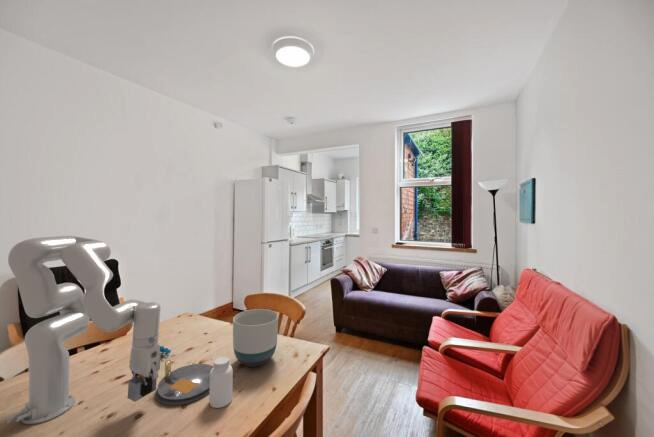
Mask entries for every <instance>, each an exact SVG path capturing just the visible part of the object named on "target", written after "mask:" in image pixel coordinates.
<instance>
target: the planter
mask: <svg viewBox="0 0 654 437" xmlns="http://www.w3.org/2000/svg"><path fill="white" fill-rule="evenodd" d="M232 318H233V319H232V344H233V345H232V346H233V353H234V357H235V358H236V360H237V361H238V362H240V364H242V365H244V366H246V367H250V368H251V367H259V366H263V365H264V364H265V363H267V362H269V361H270V359H271V358H273V356H274V355H275V353H276V349H277V346H278V333H279V314H278V312H276V311H274V310H271V309H265V308H255V309H249V310H244V311H241V312H239V313H237V314H236V315H234V316H233V317H232Z"/></svg>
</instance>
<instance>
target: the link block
mask: <svg viewBox="0 0 654 437" xmlns="http://www.w3.org/2000/svg"><path fill="white" fill-rule="evenodd" d="M149 378H150V376H148V377H147V380H148V379H149ZM157 379H158V378H156V379H154V381H153V383H152V392H151V393H153V392H154V391H155V392H156V391H157ZM143 384H144V381H143V376H141V375H138V376H137V377H135V378H133V379H132V378H130V379H129V380H128V384H127V399H128V400H131V401H132V402H134V403H135V402H138V401H139V400H142V398H144V397H146V396H148V395H149V394H151V393H149V394H147V395H145V396H144V397H142V385H143Z"/></svg>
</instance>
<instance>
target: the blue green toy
mask: <svg viewBox="0 0 654 437" xmlns="http://www.w3.org/2000/svg"><path fill="white" fill-rule="evenodd" d="M159 347H160V353H164V354H170V353H171V351H172V350H171V349H169V348H166V347H165V346H163V345H159Z"/></svg>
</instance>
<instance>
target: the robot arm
mask: <svg viewBox="0 0 654 437" xmlns="http://www.w3.org/2000/svg"><path fill="white" fill-rule="evenodd" d="M111 254H112V253H111V248H110V246H109V245H108V244H106V243H105V242H104V241H102V240H98V239H93V238H86V237H83V236H82V237H80V236H75V235H61V236H45V237H35V238H29V239H26V240H23V241H20V242H18V243H16V244H15V245H14V246H13V247H12V248H10V251H9V253H8V258H7V262H8V267H9V268H10V270H11V273H12V274H13V276H14V278H15V280H16V283H17V286H18V291H19V294H20V298H21V299H20V300H21V303H22V305H23V309H24V312H25V314H26V315H27V317H29V318H32V319H38V318H42V317H46V316H49V315H52V314H54V313H55V314H56V313H58V312H59V315H55V316H54V317H50V318H47V319H45V320H42V321H41V322H38V323H36V324H35V325H33V326H31V327H30V328H29V329H28V330H27V332H25V335H24V344H25V347H26V350H27V356H28V372H29V373H28V374H29V375H28V402H27V403H25V404H24V407H23V408H21V409H20V410H19V411H17V412H14V413H12V414H10V415H8V416H6V417H5V420H6V423H7V424H9V423H11V422H13V421H15V422H16V423H18V422H21V423H22V424H24V425H35V424H36V425H37V424H41V423H44V422H46V421H49V420H52V419H54V418H56V417H58V416H61V415H62V414H64V413H66V412H67V411H69V409H71V408H72V407H73V406H74V404H75V400H76V398H75V396H73V395H71V394H70V352H69V351H68V349H67V348H66V347H65V346H64V343H65V342H66V341H69V340H71V339H72V338H75V337H77V336H79V335H80V334H82V333H84V332H86V331H87V329H88V328H89V327H90V320H91V321H92V323H93V324H94V325H95V326H96V327H97V328H98V329H99V330H100V331H103V332H106V333H111V332H115V331H118V330H119V329H121V328H123V327H125V326H127V325H128V324H131V323H133V325H132V326H133V330H132V339H131V340H132V342H131V348H130V354H129V355H130V356H129V367H128V368H129V369H130V371H131V374H132V377H131V379H133V378H135V377H137V376H138V375H141V376H143V381H144V384H143V385H142V397H143V398H144V396H145V395H146V396H148V395H149V393H150V394H151V393H153V392H152V383H153V381H154V379H156V378H157V379H158V378H159V373H158V372H159V371H160V369H161V352H160V347H159V346H160V343H159V338H160V336H159V335H160V334H159V332H160V320H161V305H160V303H158V302H154V301H153V302H150V301H149V302H145V301H141V300H139V299H138V300H137V299H129V300H126V301H124V302H121V303H118V304H115V305H114V306H112V305H111V304H110V303H109V301H108V300H107V299H106V297H105V288H106V285H107V284H108V283H109V282H110V281H111V280H112V279H113V277H114V273H113V271H112V270H111V269H110V268H109V266H107V264H106V263H105V262H106V261H107V260H109V259H110V257H111ZM60 260H61V261H62V263H64V265H65V266H66V268H67V269H68V270H69V271H70V272H71V274H72V275H73V277H75V279H76V280H77V281H78V282H79V283H80V285H81V286H82V287H83V289H84V291H83V289H82V288H81V287H80V286H79V285H78V284H76V283H73V282H63V283H59V284H57V282H56V279H55V275H54V273H53V271H52V270H51V269H50V267H48V266H47V265H45V263H47V262H52V261H53V262H54V261H60ZM148 376H150V378H149V379H148V380H147V377H148ZM147 394H148V395H147ZM146 396H145V397H146Z"/></svg>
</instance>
